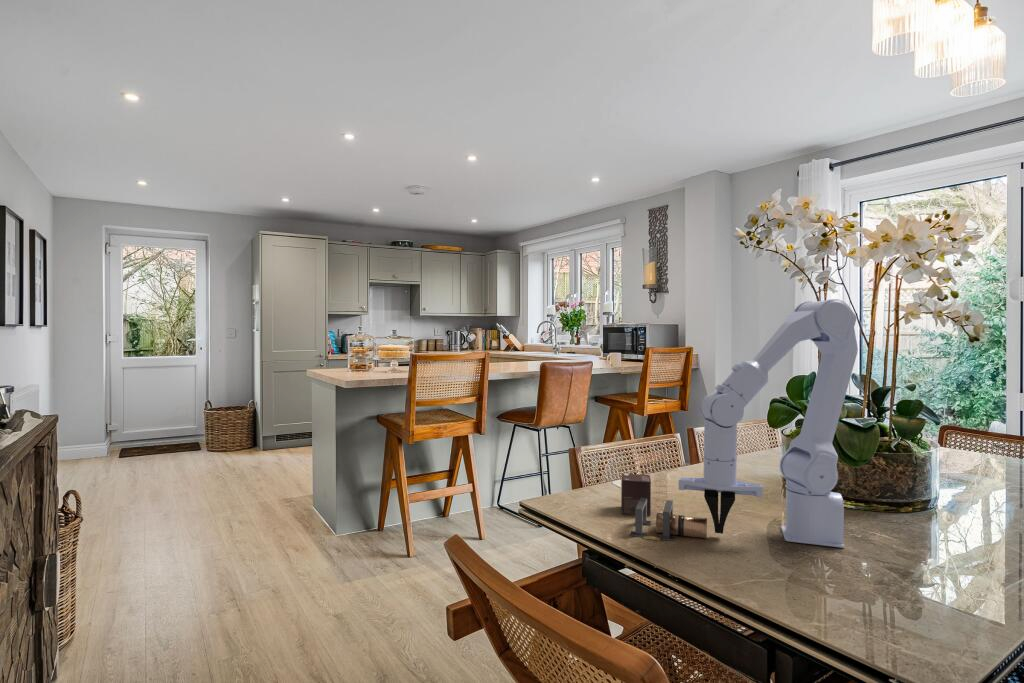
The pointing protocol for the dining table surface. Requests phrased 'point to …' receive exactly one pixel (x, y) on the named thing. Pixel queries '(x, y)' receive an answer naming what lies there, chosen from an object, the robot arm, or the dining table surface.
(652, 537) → the index mark
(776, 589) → the dining table surface
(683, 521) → the tube
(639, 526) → the collar
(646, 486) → the box
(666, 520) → the dark grey support bracket
